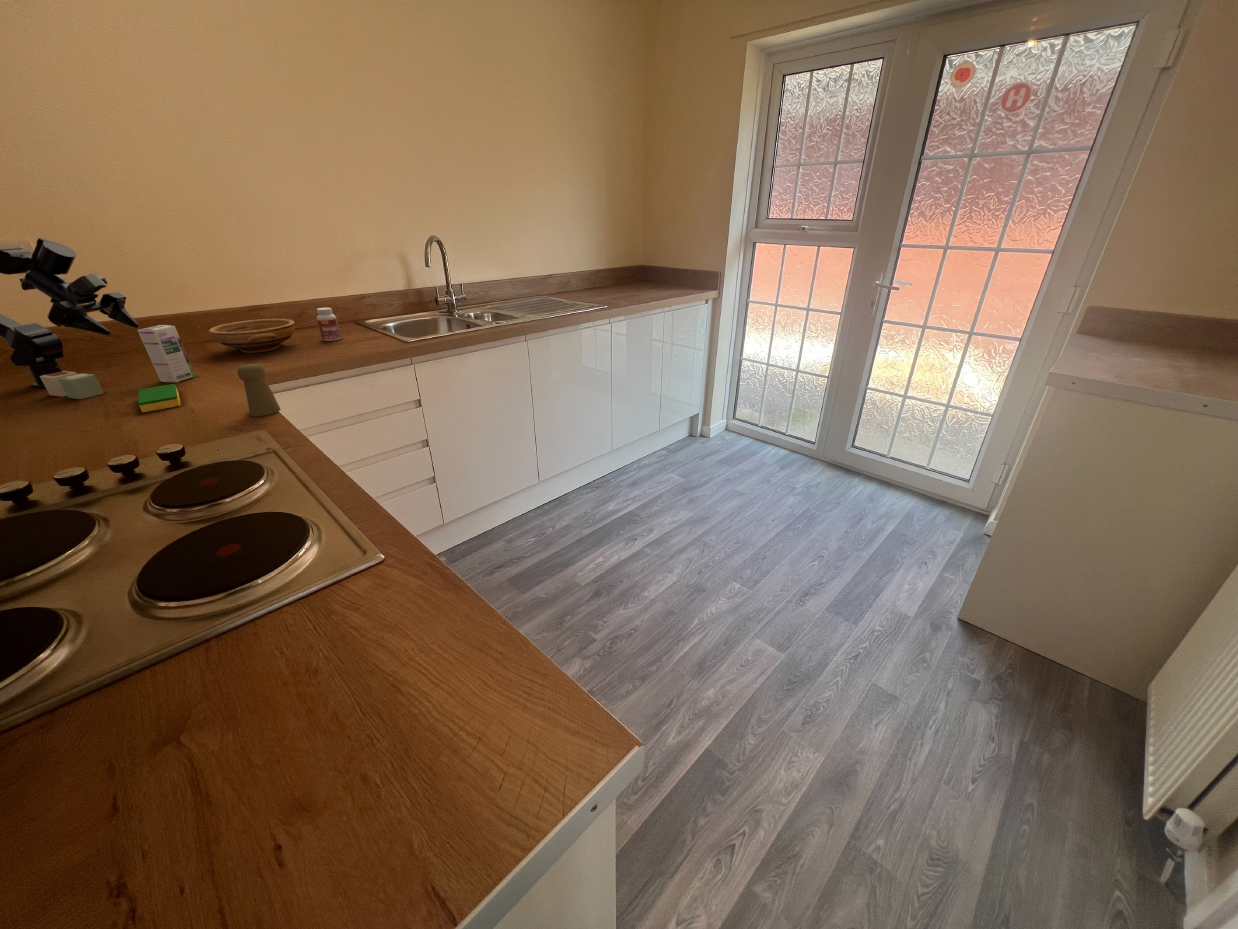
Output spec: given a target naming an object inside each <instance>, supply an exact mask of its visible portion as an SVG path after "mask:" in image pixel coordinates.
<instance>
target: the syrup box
mask: <svg viewBox="0 0 1238 929" xmlns="http://www.w3.org/2000/svg"><path fill="white" fill-rule="evenodd" d="M137 333H138V335H139V337H140V339H141V342H142V343H143V346H144V348H145V350H146V353H147V354H148V357H149V359H150V362H151V363H152V365H153V368H154V370H155V372H156V374H157V377H158V379H159V381H160V382H163V383H180V382H183V381H186V380H188V379H192V378H196V373H195V371H194V368H193V366H192V364H191V361H190V359H189V356H188V353H187V352H186V350H185V347H184V345H183V343H182V340H181V337H180V335H179V332H178V330H177V328H176V326H175V325H171V324H158V325H155V326H150V327H145V328H139V329H137Z"/></svg>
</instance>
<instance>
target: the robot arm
mask: <svg viewBox="0 0 1238 929" xmlns="http://www.w3.org/2000/svg"><path fill="white" fill-rule="evenodd" d="M76 257H77V252H76V251H75V250H74V249H73V248H71V247H70V246H68V245H65V244H62V243H60V242H56V241H53V240H51V239H49V238H47V237H38V238H37V240H36V244H35V247H34V250H33V252H30V251H29V249H26V248H23V247H16V248H15V247H14V248H0V274H2V275H9V276H10V275H17V274H18V275H19V274H24V277H23V278H19V280H18V281H20V287H21V289H22V290H23V291H30V290H37V291H39V292H40V293H42V294H44V295H45V296H47V297H49V298H50V300H49V302H50V303H52V305H51V307H50V309H49V311H48V313H47V316H46V317H47V320H48V321H49V323H52V324H53V325H55V326H56V327H64V328H72V329H77V330H83V331H87V332H92V333H96V334H100V335H105V336H110V335H111V334H112V333H111V331H110V330H109V329H108V328H107V327H106V326H104V325H102V324H101V323H100V322H98V321H97V320H96V319H93V317H91V316H89V315H88V314H89V313H94V312H99V313H100V314H102V315H105V316H107V318H108V319H111V320H113V321H116V322H119V323H121V324H124V325H127V326H129V327H131V328H135V329H138V328H139V323H138V322H137V321H136V320H135V318H134V317H132V315H131V314H130V313H129V311H128V310H127V309H126V307H125V305H126V300H127V297H126V296H125V295H124V294H122V293H120V292H117V291H115V292H109V293H103V294H102V296H101V297H100V300H99V301H97V300H96V299H97V298H98V297H99V295H100V294H99V293H98V292H100V290H102V289H105V288H107V286H108V280H107V279H106V278H105V276H102V275H101V274H99V273H97V272H94V273H93V272H91V273H90V274H86V275H82V276H79V277H78V278H76V279H74V280H73V281H69V280H67V279H66V278H64V277H63V276H61V275H67V274H69V272H70V270H71V268H72V266H73V264H74V262H75V260H76ZM54 332H55V331H53V330H50V329H48V328H46V327H45V326H42V325H41V324H39V323H36V322H33V323H28V324H22V323H19V322H17V321H15V320H14V319H11V318H10V317H8V316H6V315H4V314H2V313H0V337H2V338H4V339H5V341H6V343H7V344H8V346H9V347H10V348H11V349H13V351H12V353H11V356H10V357H9V360H10V361H11V362H12V363H13V364H14V365H15V366H16V367H26V368H27V369H28V371H29V373H30V375H31V376H32V378H33V380H34V382H32V383H30V384H29V385H30V386H31V387H37V388H46V387H45V385H44V384H43V382H42V380H41V378H40V376H43V375H48V374H52V373H57V372H62V369H61V367H60V364H59V363H58V361H57V360H58V359H63V358H64V357H65V356H64V345H63V342H62V340H61V338H60V337H59V336H58V335H57V334H56V333H54Z"/></svg>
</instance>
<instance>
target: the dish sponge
mask: <svg viewBox="0 0 1238 929" xmlns="http://www.w3.org/2000/svg"><path fill="white" fill-rule="evenodd" d="M137 391H138V393H137V394H138V395H137V396H138V397H137V404H138V406H139V408H140V411H141V412H142V413H148V412H154V411H159V410H166V409H170V408H176V407H180V406H182V405H181V399H180V394H179V391H178V388H177V386H176V384H175V383H172V384H164V385H158V386H151V387H146V388H141V389H138V390H137Z"/></svg>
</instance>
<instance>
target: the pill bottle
mask: <svg viewBox="0 0 1238 929" xmlns="http://www.w3.org/2000/svg"><path fill="white" fill-rule="evenodd" d="M332 309H333V308H332V307H318V308H316V312H317V314H318V315H317V316H316V321H317V326H318V328H319V333H320V336H321V340H322V341H323V342H334V341H339V340H341V339H342V334H341V331H340V327H339V324H338V320H337V316H336V315H335V314H334V313H333V310H332Z"/></svg>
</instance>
